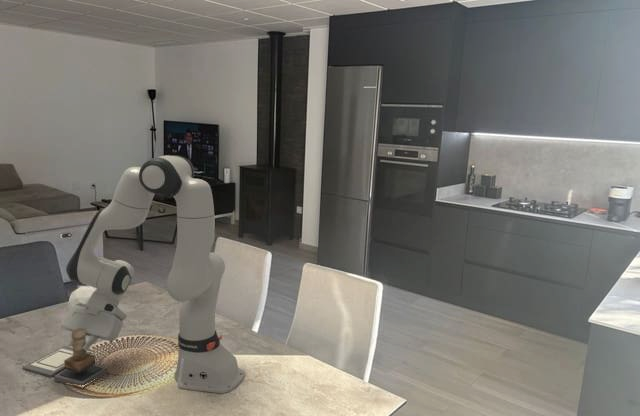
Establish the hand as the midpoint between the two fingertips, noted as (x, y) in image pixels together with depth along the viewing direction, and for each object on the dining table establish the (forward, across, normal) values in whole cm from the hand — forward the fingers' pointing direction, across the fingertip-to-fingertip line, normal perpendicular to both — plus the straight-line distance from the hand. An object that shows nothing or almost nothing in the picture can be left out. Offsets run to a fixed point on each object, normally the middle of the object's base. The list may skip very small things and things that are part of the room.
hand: (77, 348), depth 145 cm
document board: (+4, -14, +10) cm, 18 cm away
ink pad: (+7, 0, +8) cm, 10 cm away
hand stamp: (+4, 0, +5) cm, 6 cm away
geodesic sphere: (-18, -33, +33) cm, 50 cm away
